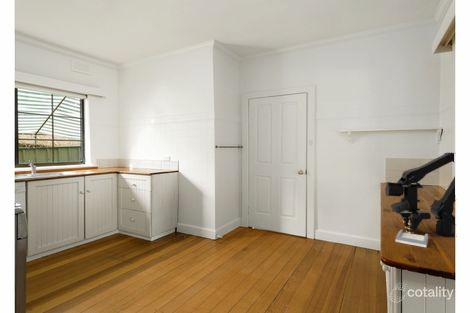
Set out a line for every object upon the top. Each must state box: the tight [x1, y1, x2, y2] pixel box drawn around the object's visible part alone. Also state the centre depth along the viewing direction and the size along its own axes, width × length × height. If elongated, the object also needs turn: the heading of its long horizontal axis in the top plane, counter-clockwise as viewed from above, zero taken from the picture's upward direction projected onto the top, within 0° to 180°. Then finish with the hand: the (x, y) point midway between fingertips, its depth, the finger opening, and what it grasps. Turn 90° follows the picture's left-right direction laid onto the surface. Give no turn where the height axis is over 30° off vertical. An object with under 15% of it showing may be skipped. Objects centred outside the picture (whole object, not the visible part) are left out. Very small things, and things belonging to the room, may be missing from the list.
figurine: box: [401, 218, 415, 234], centre depth 126 cm, size 5×5×8 cm
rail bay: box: [395, 228, 429, 248], centre depth 115 cm, size 13×11×2 cm
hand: (410, 229), depth 126 cm, fingers closed on figurine, 5 cm apart
